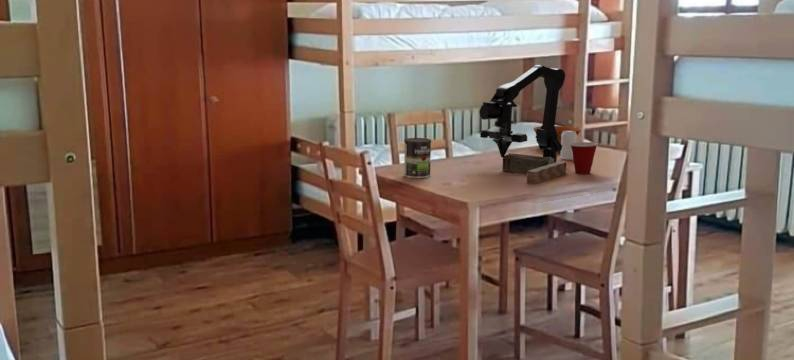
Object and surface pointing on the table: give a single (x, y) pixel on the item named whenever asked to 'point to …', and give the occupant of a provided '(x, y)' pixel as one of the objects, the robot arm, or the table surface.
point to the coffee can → (417, 157)
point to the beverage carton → (524, 162)
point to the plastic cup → (583, 156)
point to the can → (567, 144)
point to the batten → (546, 172)
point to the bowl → (560, 131)
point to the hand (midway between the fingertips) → (502, 157)
